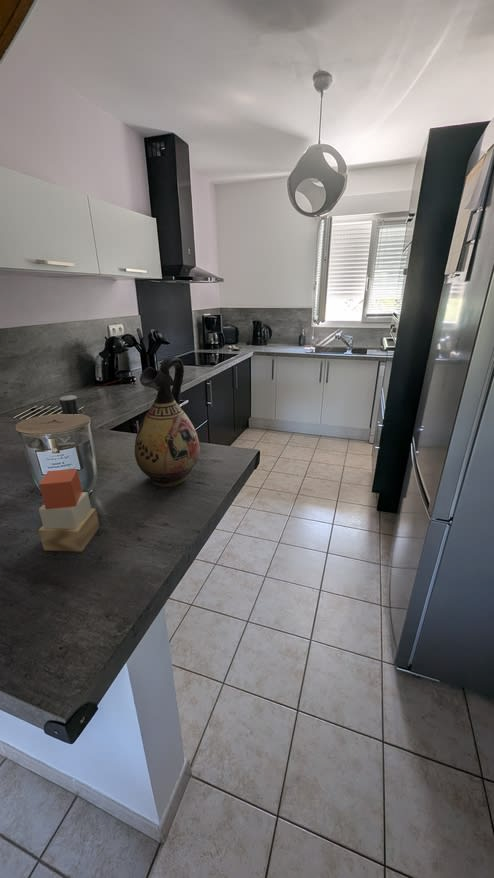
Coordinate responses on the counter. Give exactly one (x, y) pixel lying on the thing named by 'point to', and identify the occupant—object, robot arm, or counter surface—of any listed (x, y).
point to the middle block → (66, 514)
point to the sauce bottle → (69, 404)
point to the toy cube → (61, 488)
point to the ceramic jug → (166, 429)
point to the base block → (70, 535)
